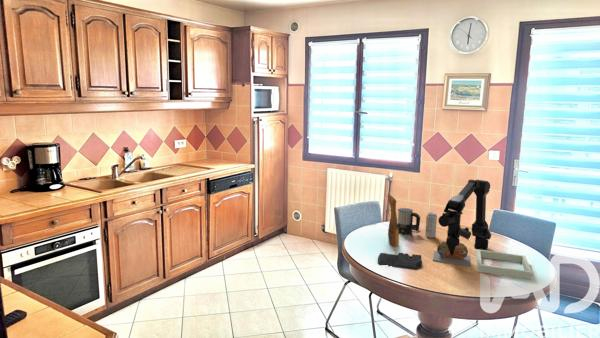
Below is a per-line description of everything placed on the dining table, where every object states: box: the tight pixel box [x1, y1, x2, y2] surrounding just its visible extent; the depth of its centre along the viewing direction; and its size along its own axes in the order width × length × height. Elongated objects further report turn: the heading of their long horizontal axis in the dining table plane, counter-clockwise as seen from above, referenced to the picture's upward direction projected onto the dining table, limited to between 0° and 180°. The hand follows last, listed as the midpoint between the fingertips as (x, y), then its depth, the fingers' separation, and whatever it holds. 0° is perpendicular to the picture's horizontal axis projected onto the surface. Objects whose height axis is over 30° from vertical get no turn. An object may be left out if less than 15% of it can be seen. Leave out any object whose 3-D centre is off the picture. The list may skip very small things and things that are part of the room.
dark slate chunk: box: [377, 252, 423, 271], centre depth 209 cm, size 15×22×5 cm
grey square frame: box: [476, 248, 533, 280], centre depth 205 cm, size 23×23×4 cm
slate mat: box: [432, 250, 471, 267], centre depth 215 cm, size 18×14×1 cm
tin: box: [436, 240, 469, 259], centre depth 215 cm, size 15×3×8 cm, turn 68°
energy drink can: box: [424, 211, 438, 239], centre depth 249 cm, size 6×6×15 cm
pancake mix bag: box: [387, 193, 400, 248], centre depth 237 cm, size 7×19×28 cm, turn 173°
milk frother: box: [397, 207, 421, 235], centre depth 260 cm, size 14×16×15 cm
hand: (452, 251), depth 215 cm, fingers open, 9 cm apart
